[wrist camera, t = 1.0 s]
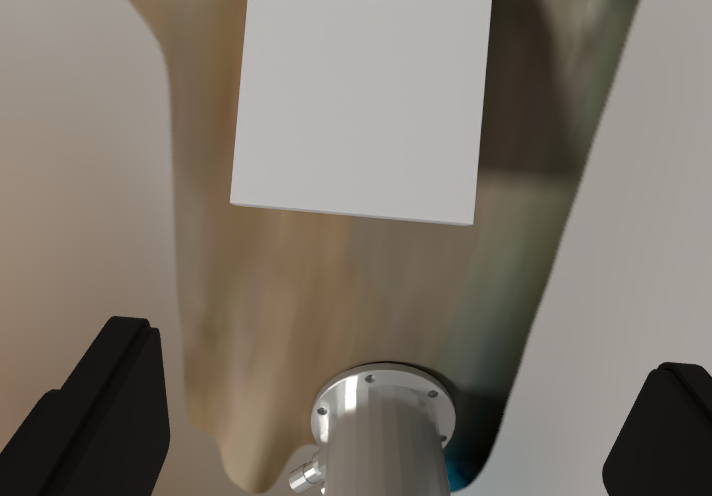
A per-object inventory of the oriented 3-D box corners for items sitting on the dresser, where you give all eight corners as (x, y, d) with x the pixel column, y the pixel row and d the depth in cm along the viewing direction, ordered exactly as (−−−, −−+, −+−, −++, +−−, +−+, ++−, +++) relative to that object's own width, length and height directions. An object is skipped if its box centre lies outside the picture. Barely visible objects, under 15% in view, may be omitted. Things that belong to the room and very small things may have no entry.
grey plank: (262, -103, 27) (258, -124, 25) (490, -77, 28) (499, -95, 26) (235, 205, 27) (230, 202, 25) (465, 225, 27) (473, 224, 26)
